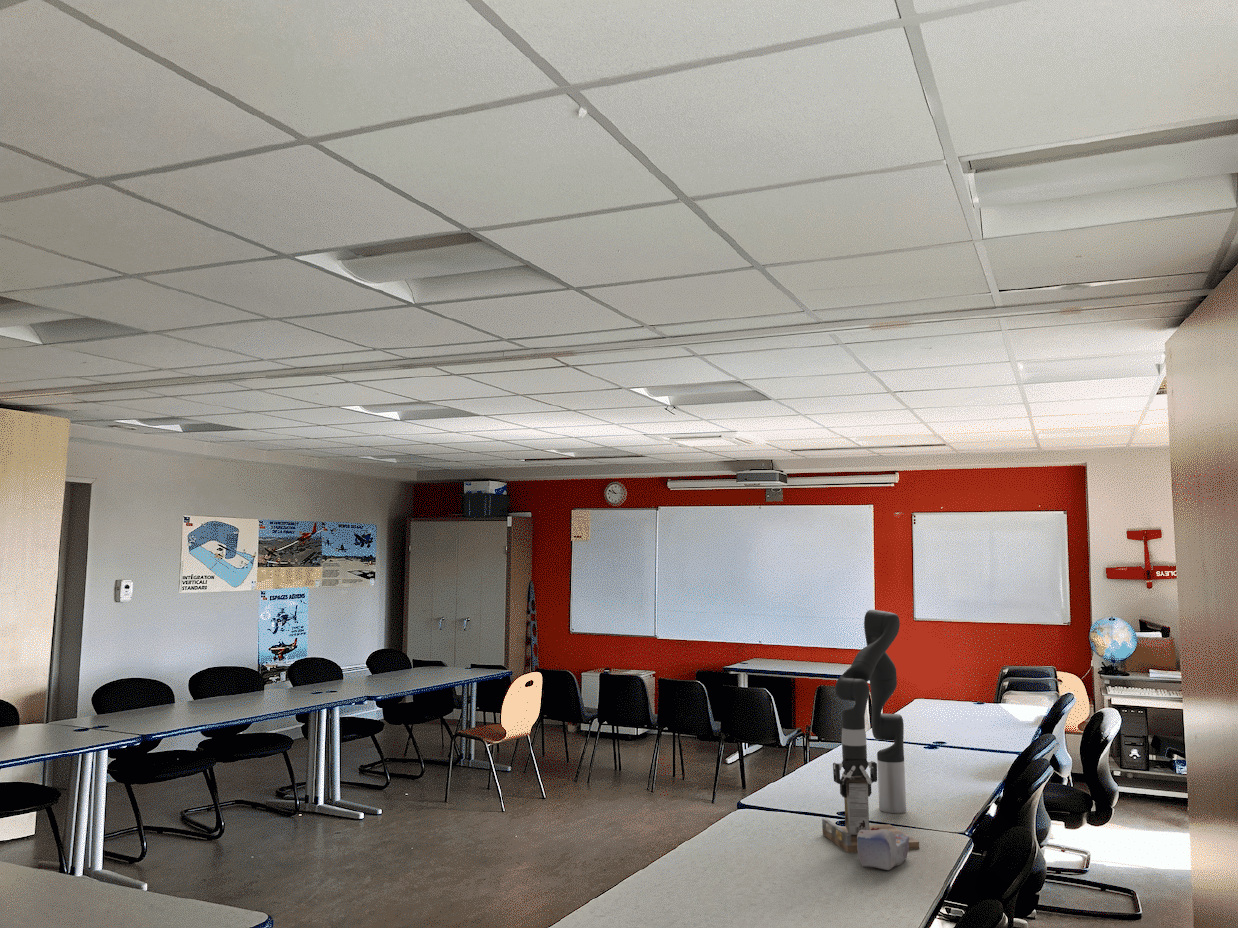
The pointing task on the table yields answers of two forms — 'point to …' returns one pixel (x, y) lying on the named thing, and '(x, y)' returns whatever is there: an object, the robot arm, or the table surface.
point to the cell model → (881, 848)
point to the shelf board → (850, 841)
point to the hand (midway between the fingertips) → (856, 796)
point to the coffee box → (856, 805)
